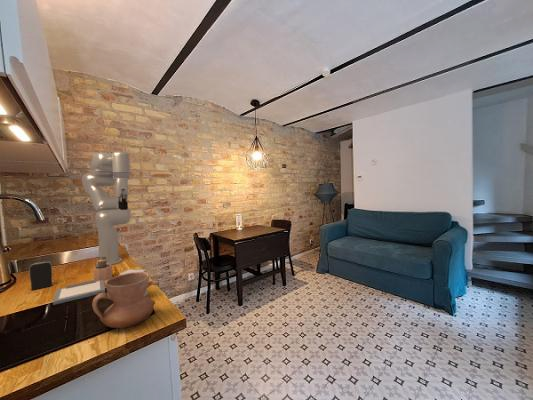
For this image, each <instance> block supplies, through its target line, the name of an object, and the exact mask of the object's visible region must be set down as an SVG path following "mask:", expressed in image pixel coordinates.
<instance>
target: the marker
mask: <svg viewBox="0 0 533 400" xmlns="http://www.w3.org/2000/svg"><path fill="white" fill-rule="evenodd" d="M97 262H98V265H97V266H98V269H101V268H106V267H107V258H106V257H99V256H98V257H97Z"/></svg>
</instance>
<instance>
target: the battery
mask: <svg viewBox="0 0 533 400" xmlns="http://www.w3.org/2000/svg"><path fill="white" fill-rule="evenodd" d="M28 269H29V279H30V290H31V291H35V290H40V289H44V288H49V287H51V286H53V267H52V263H51V261H48V260H47V261H39V262H35V263H32V264H31V265H30V266H29V268H28Z"/></svg>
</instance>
